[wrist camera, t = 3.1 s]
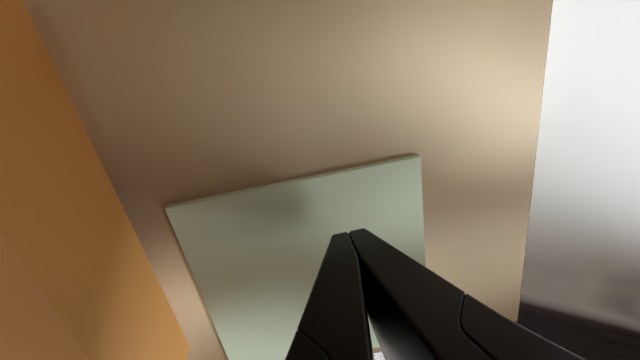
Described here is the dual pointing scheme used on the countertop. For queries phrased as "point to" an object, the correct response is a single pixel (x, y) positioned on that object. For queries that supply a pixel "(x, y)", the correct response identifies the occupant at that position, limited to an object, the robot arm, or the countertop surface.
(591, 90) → the countertop surface
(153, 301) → the clip bar
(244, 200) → the socket board
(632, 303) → the countertop surface
